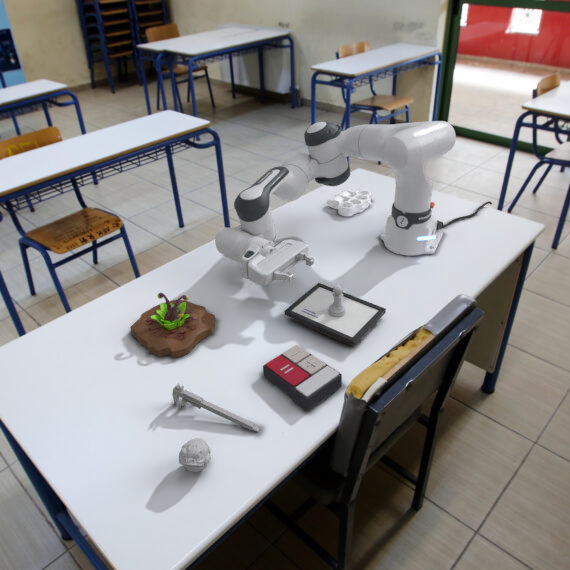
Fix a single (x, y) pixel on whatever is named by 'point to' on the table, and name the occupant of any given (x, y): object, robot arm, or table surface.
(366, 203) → the white egg carton
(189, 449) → the frog figurine
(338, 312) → the chess piece
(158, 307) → the plant
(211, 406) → the caliper
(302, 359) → the calculator
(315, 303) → the whiteboard
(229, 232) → the robot arm
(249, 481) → the table surface
